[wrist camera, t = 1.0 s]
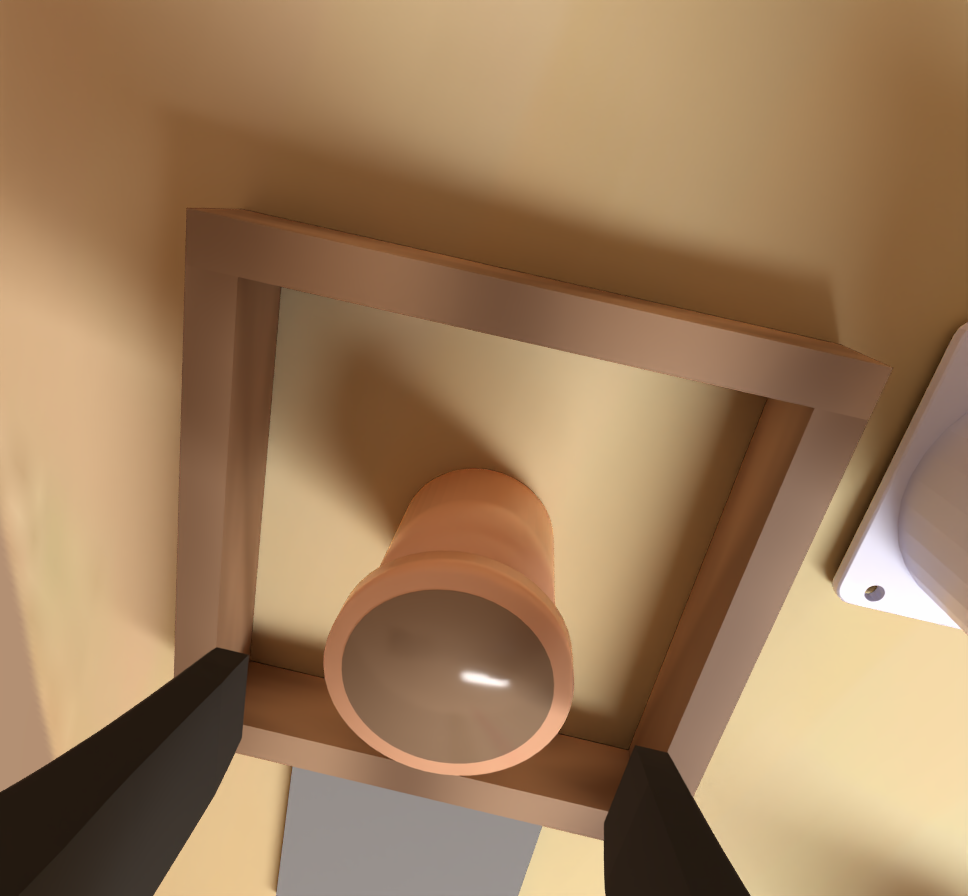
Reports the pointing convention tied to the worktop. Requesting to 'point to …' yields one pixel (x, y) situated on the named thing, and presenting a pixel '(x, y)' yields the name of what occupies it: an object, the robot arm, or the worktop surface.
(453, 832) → the slate mat
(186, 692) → the robot arm
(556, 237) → the worktop surface
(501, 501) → the terracotta pot
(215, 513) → the frame
